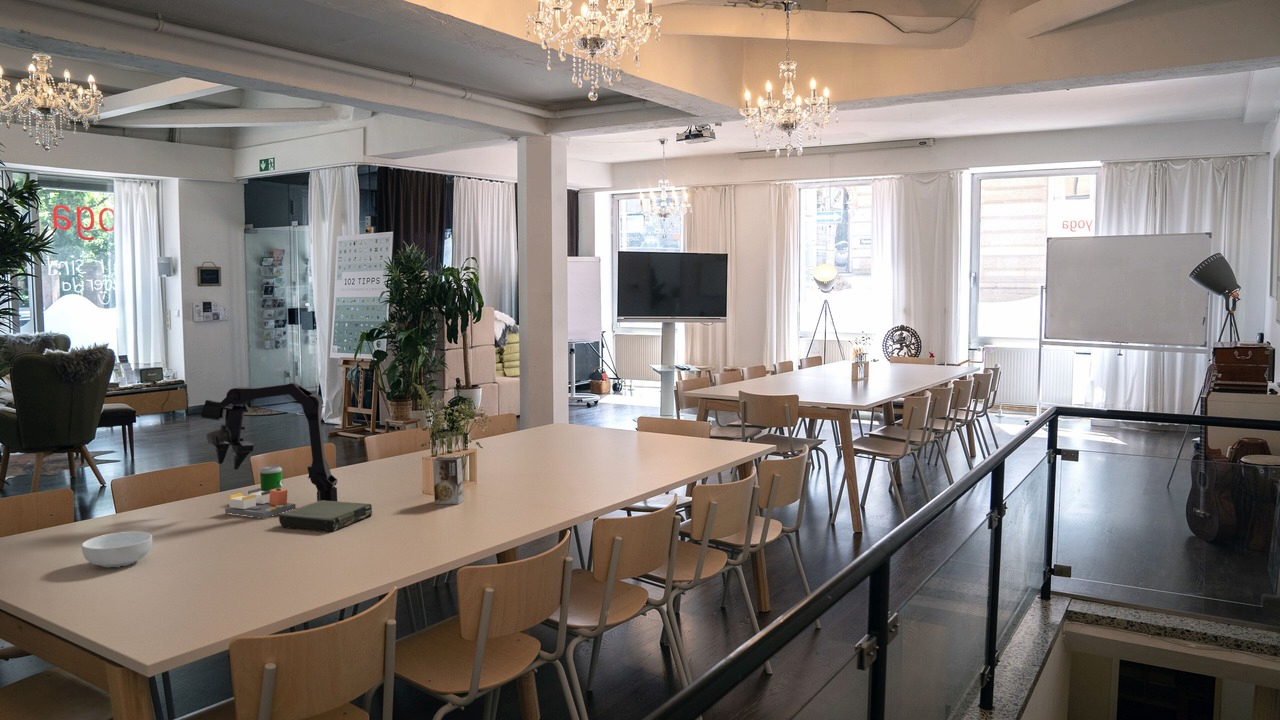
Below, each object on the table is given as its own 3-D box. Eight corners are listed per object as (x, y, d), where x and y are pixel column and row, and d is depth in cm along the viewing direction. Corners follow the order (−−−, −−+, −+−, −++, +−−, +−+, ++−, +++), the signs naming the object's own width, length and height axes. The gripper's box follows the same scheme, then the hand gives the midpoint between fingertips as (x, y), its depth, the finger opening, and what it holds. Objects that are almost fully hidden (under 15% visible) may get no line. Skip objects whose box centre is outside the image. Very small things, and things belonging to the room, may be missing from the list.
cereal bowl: (74, 576, 234) (72, 550, 234) (94, 558, 250) (92, 534, 250) (144, 569, 239) (143, 544, 239) (159, 552, 255) (158, 529, 255)
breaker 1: (255, 505, 301) (255, 494, 301) (243, 509, 297) (243, 497, 297) (241, 504, 304) (240, 492, 304) (229, 507, 300) (228, 495, 300)
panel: (295, 509, 305) (295, 502, 305) (263, 519, 293) (263, 511, 292) (258, 505, 313) (258, 498, 313) (225, 514, 300) (225, 506, 300)
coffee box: (464, 500, 316) (462, 456, 315) (458, 504, 310) (457, 459, 308) (439, 499, 317) (438, 456, 316) (433, 504, 310) (432, 459, 309)
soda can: (278, 501, 318) (276, 468, 318) (257, 501, 319) (256, 469, 318) (286, 496, 326) (285, 464, 325) (266, 496, 326) (265, 465, 325)
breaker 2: (274, 500, 309) (273, 489, 308) (262, 503, 304) (262, 492, 304) (260, 499, 312) (259, 488, 311) (248, 502, 307) (248, 490, 307)
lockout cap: (286, 503, 306) (287, 488, 305) (277, 506, 302) (278, 490, 301) (278, 501, 307) (279, 486, 306) (269, 503, 304) (270, 488, 303)
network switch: (339, 534, 274) (339, 518, 273) (273, 531, 279) (272, 515, 278) (376, 515, 297) (376, 501, 296) (314, 513, 301) (313, 499, 301)
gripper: (196, 418, 303) (190, 462, 303) (227, 428, 293) (221, 474, 293) (226, 417, 312) (220, 460, 313) (257, 427, 302) (251, 472, 303)
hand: (228, 466), depth 305 cm, fingers open, 9 cm apart
